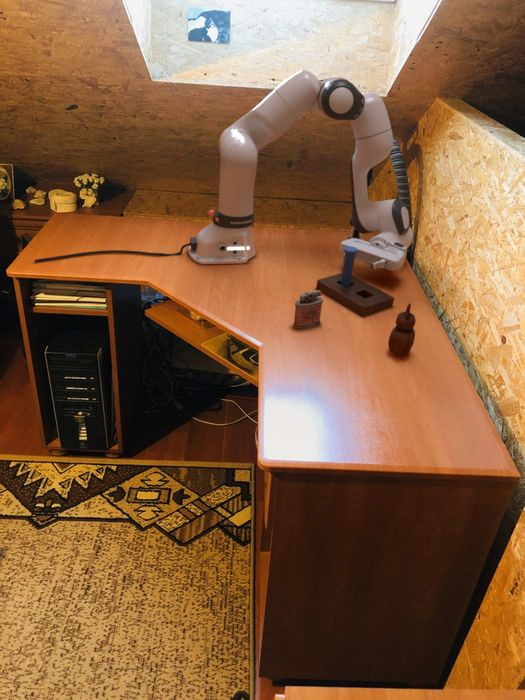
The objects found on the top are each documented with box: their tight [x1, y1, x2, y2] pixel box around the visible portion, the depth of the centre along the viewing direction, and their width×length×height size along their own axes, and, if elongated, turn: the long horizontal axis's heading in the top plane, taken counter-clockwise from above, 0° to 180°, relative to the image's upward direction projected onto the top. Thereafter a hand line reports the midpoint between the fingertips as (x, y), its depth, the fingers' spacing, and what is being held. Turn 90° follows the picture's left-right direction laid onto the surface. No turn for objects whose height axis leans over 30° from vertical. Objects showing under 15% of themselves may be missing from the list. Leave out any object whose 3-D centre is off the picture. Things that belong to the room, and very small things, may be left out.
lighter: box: [292, 290, 324, 331], centre depth 152 cm, size 8×3×10 cm, turn 117°
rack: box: [316, 272, 395, 318], centre depth 169 cm, size 12×20×3 cm, turn 36°
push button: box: [346, 217, 364, 241], centre depth 202 cm, size 7×5×10 cm
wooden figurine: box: [387, 302, 417, 358], centre depth 142 cm, size 7×6×15 cm
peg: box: [340, 246, 357, 288], centre depth 169 cm, size 4×4×14 cm
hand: (358, 261), depth 173 cm, fingers open, 8 cm apart
